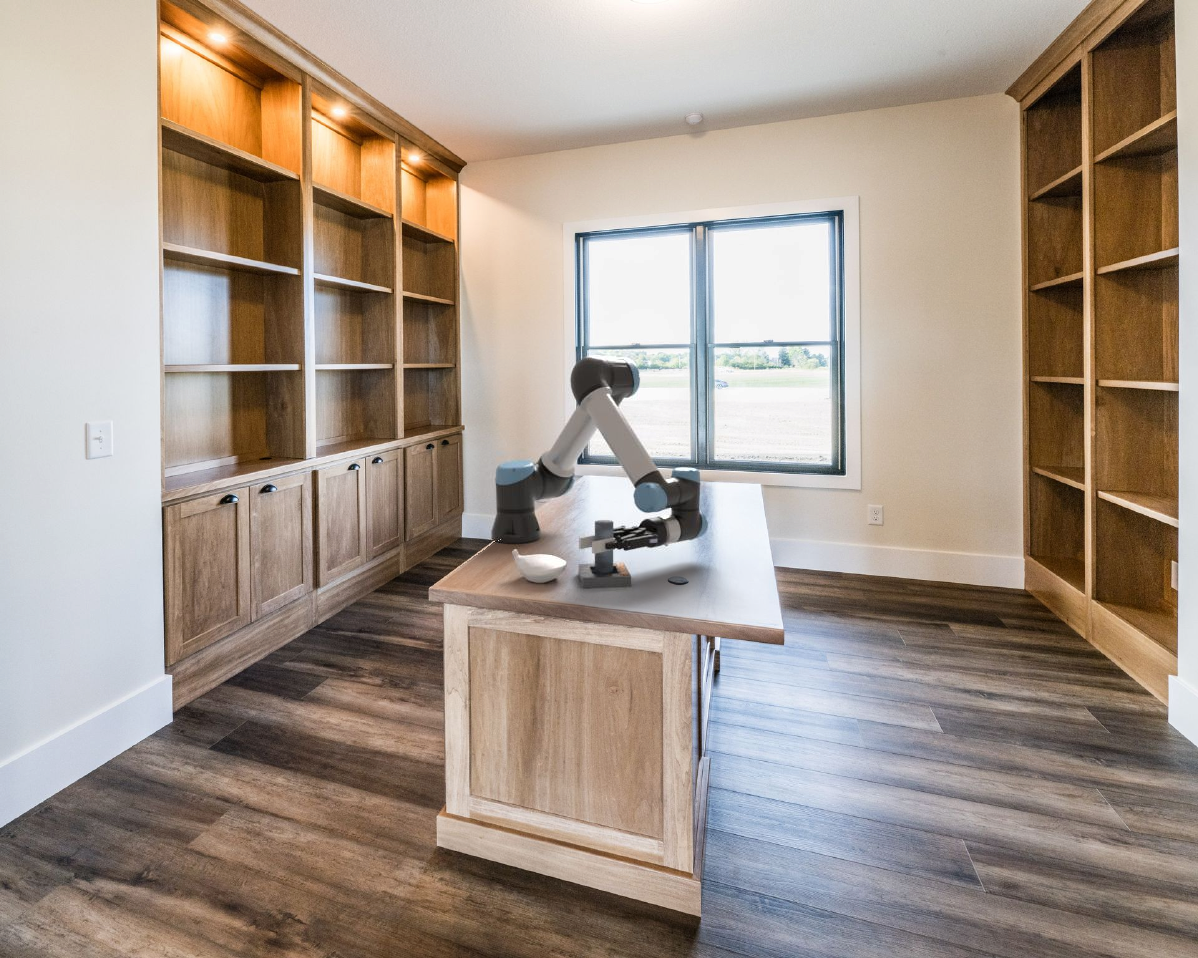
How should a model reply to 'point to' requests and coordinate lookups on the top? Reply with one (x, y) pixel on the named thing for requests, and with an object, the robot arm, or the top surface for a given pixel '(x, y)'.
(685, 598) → the top surface
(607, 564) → the peg
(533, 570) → the driver head
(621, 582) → the socket block
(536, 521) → the robot arm
